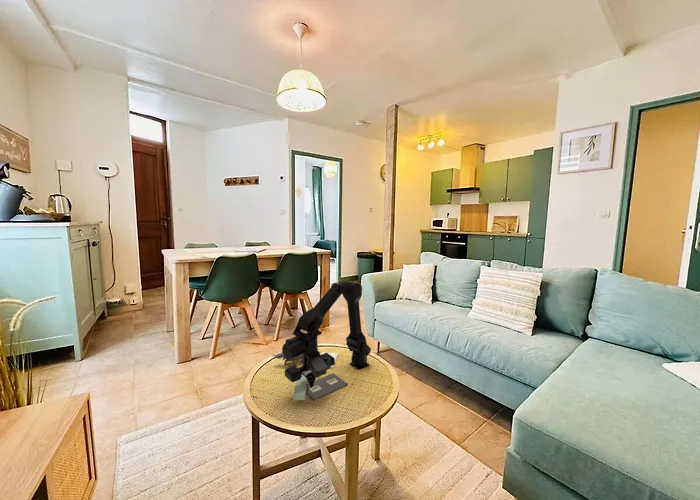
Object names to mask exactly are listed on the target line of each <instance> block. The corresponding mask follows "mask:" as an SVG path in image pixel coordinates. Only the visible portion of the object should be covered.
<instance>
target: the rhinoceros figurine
mask: <svg viewBox="0 0 700 500" xmlns="http://www.w3.org/2000/svg"><path fill="white" fill-rule="evenodd" d="M271 354H272V356H273V357H275V358H276V359H282V361H284V366H287V363H288V362H294V363H295V366H296V367H297V368H299V367H298V366H299V363H298V360H299V359H301V360H303V358H302V354H301V355H299V356H297V357H295V358H293V359H291V360H287V359H286V358H285V357H284V355H283V352H282V351H281V352H277V353H276V354H274V353H271Z"/></svg>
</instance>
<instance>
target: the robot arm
mask: <svg viewBox="0 0 700 500" xmlns="http://www.w3.org/2000/svg"><path fill="white" fill-rule="evenodd" d="M341 295H342V297H343V299H344V300H345V302H346V304H347V311H348V312H347V313H348V325H349V334H348V336H346V337H345V341H346V343H345V345H346V346H347V348H348V350H349V351H351V362H349V365H350V366H352V367H354V368H355V369H357V370H361V369H364V368H366V367H369V366H370V363H369V362H368V356H369V355H370V353H371V351H372V347H370V346H369V344H368V342H367V339H366V336H365V335H364V332H362V323H361V322H362V321H361V312H360V299H361V298H362V295H363V286H362V284H361V283H360V282H356V281H350V280H345V281H344V282H334V283H332V284H331V286H330V287H329V289H328V291H326V293H325V294H324V295H323V296H322V297H321V298H320V300H319V301H318V302H317V303H316V305H315V306H314V307H313V308H311V309H308V310H306V311H305V312H304V313H303V314H302V315H301V316H300V317H299V318H298V321H297V323H296V326H295V328H294V330H293V333H292V336H293V337H291V338H288V339H285V343H284V344H283V345H282V348H281V352H283V355H284V357H285V358H286V359H287V360H291V359H293V358H295V357H297V356H299V355H301V354H302V358H303V360H302V358H301V360H300V364H302V366H299V367H296V364H294V365H291V366H289V367H286V368H285V369H284V376H285V378H286V379H288V381H290V382H291V383H294V382H295V383H296V381H297V380H300V379H301V377H302V375H304V376H305V377H306V379H307V381H308V382H307V384H308V383H309V385H310V387H311V388H312V387H313V385H314V382H315V380H317V379H316V378H318V379H319V378H321V377H323V376H324V375H325V376H326V374H327V371H328V370H330V367H331V366H332V365H334V366H335V363H336V362H335V359H334V357H332V356H331V355H329V354H328V353H329V352H326V353H324V354H322V355H321V353H320V351H319V347H318V346H319V345H318V336H321V335H322V333H323V332H322V331H320V330H319V329H320V328H321V326H322V325H323V323H324V317H325V316H326V315H327V313H328V312H329V310H330V309H331V308H332V307H333V305H334V304H335V303H336V302H337V300H338V299H339V298H340V297H341ZM303 331H304V332H303ZM286 359H285V360H286Z"/></svg>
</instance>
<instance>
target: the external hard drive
mask: <svg viewBox="0 0 700 500" xmlns="http://www.w3.org/2000/svg"><path fill="white" fill-rule="evenodd" d="M324 353H328V354H329V355H331V356H332V357H334V359H335V363H336V361H337V359H338V356H339V353H337V352H326V351H324V352H323V351H322V352H321V353H320V355H322V354H324ZM334 367H335V364H334V365H332V366H331V367H330V369H334ZM330 369H329V370H330Z"/></svg>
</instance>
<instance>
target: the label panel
mask: <svg viewBox="0 0 700 500" xmlns="http://www.w3.org/2000/svg"><path fill="white" fill-rule="evenodd" d="M347 386H349V383H348V382H346V381H345V380H343V379H342V378H341V377H339V376H338V375H337V374H335V373H329V374H327V375H325V376H321V377H319V378H318V379H315V382H314V385H313V387H312V388H311V387H310V385H309V383H308V382H307V389H306V395H307V397H309V398H310V399H311V400H312V401H313V402H314V401H317V400H319V399H321V398H323V397H326V396H327V395H331V394H332V393H334V392H337V391H338V390H341V389H343V388H345V387H347Z"/></svg>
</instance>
